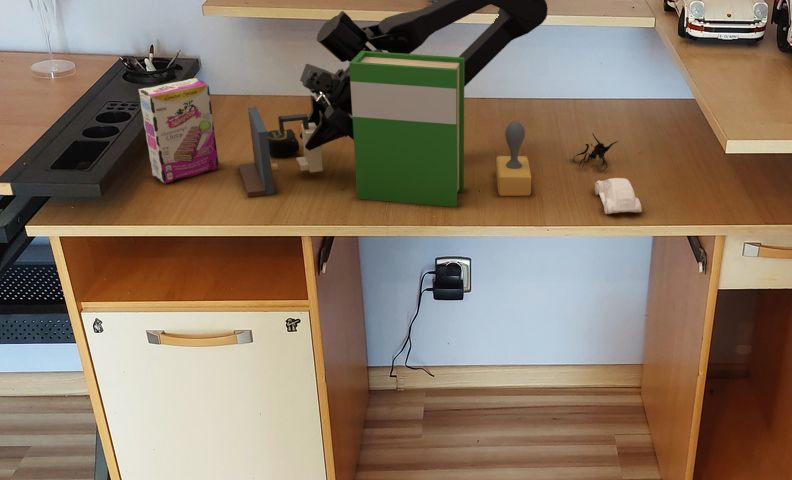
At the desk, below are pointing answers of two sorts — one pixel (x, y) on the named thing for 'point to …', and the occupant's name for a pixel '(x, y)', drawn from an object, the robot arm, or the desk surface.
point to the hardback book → (408, 127)
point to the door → (258, 160)
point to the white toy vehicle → (617, 196)
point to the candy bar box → (179, 129)
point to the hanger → (311, 157)
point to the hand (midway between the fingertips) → (304, 143)
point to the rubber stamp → (513, 165)
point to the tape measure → (282, 142)
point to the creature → (596, 152)
